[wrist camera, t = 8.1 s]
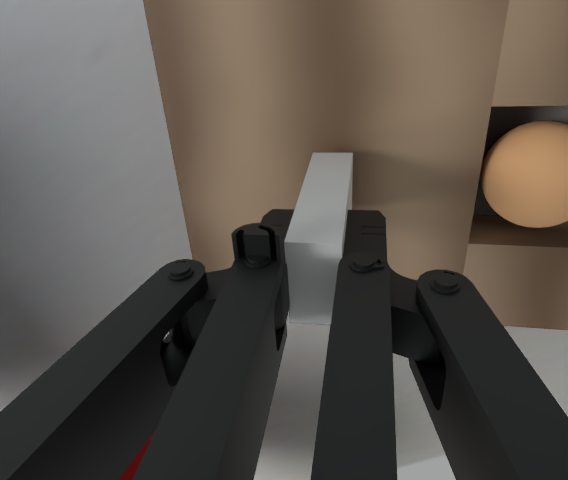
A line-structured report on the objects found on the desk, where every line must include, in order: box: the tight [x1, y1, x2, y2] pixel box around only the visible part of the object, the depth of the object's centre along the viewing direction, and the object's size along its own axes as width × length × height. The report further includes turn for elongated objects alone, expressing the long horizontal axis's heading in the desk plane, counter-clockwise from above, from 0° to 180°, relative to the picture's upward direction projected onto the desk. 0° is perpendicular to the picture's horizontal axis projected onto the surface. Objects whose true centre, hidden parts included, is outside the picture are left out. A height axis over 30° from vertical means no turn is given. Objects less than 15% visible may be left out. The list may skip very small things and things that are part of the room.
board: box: [143, 0, 568, 330], centre depth 19 cm, size 20×14×2 cm
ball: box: [481, 121, 568, 228], centre depth 18 cm, size 4×4×4 cm
